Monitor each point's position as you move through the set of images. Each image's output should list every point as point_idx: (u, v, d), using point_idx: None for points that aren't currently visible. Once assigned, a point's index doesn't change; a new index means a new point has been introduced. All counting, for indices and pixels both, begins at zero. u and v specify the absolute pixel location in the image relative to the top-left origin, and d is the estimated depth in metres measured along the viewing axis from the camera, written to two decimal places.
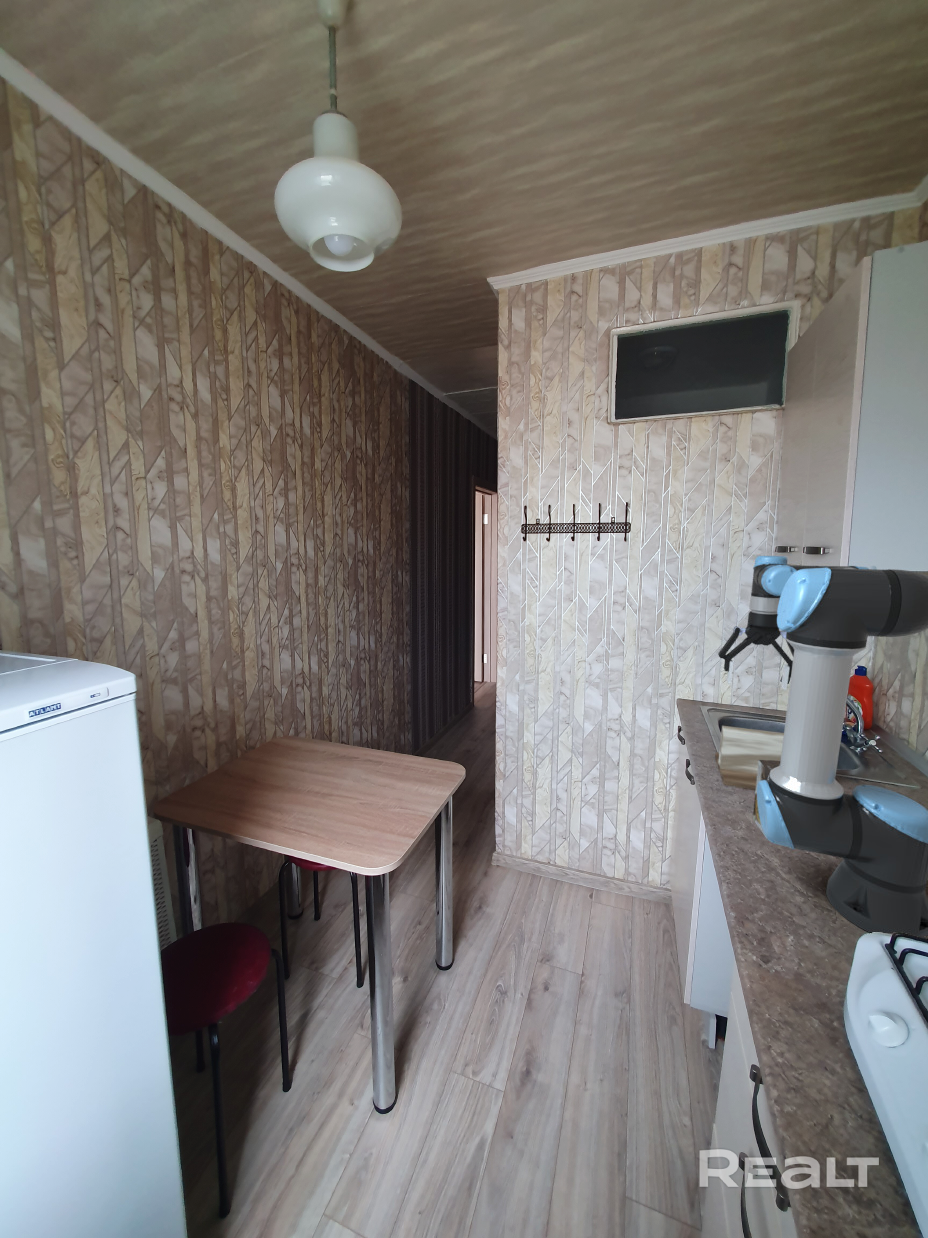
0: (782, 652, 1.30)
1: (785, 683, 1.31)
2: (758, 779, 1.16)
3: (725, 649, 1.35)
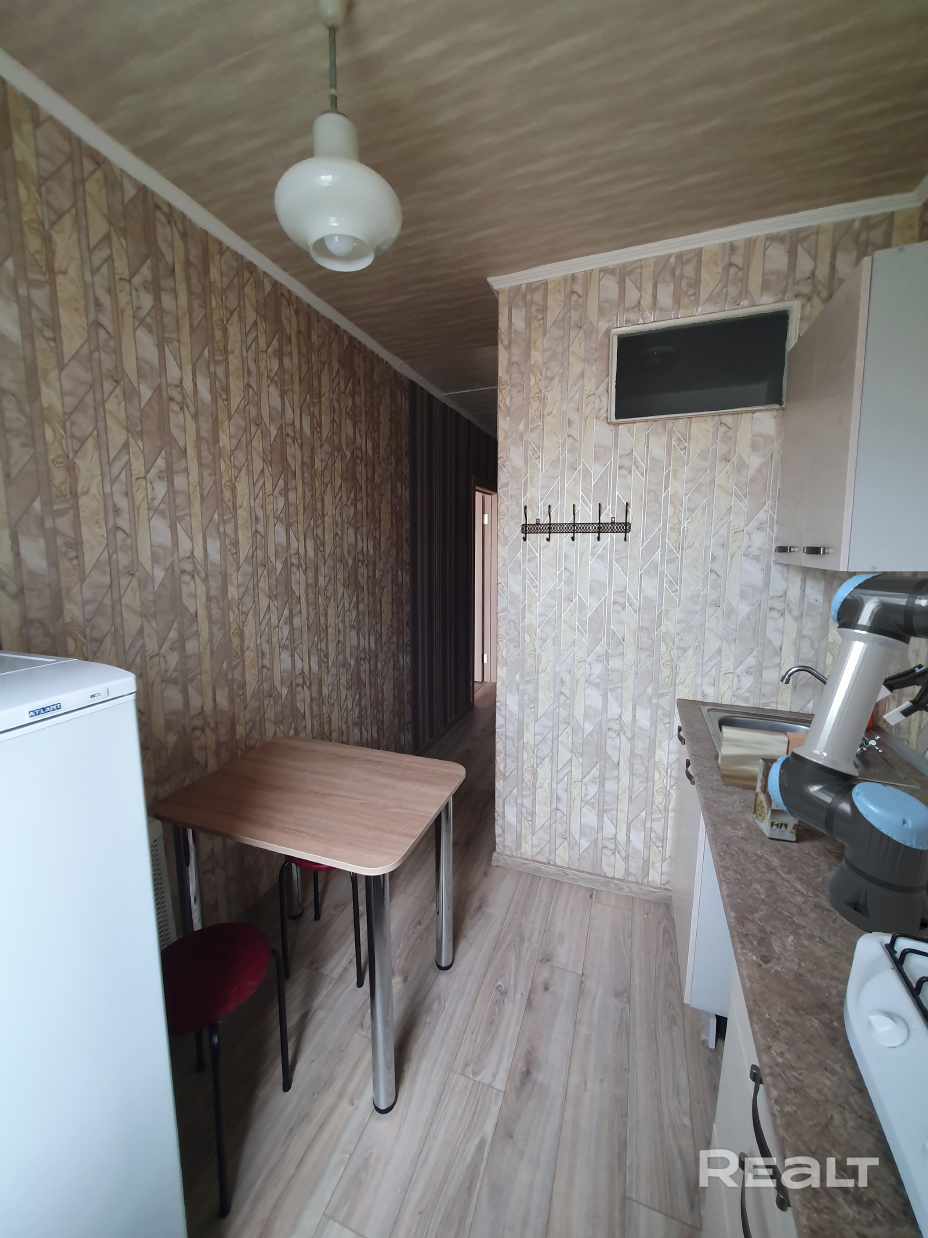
0: (921, 690, 1.18)
1: (890, 712, 1.20)
2: (759, 777, 1.16)
3: (892, 676, 1.31)
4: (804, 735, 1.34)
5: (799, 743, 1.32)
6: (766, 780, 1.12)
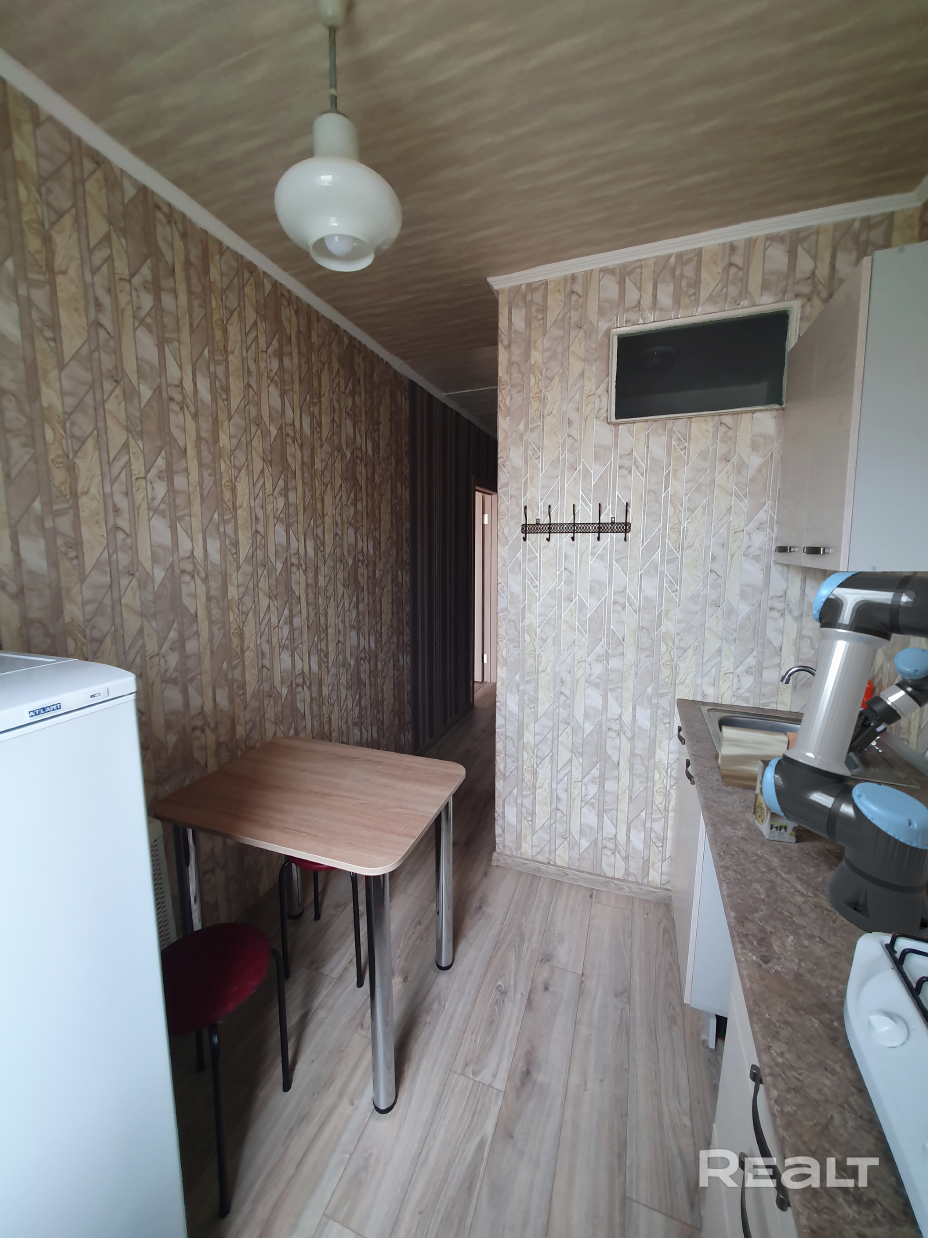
0: (855, 732, 1.25)
1: None
2: (759, 779, 1.16)
3: None
4: None
5: None
6: None
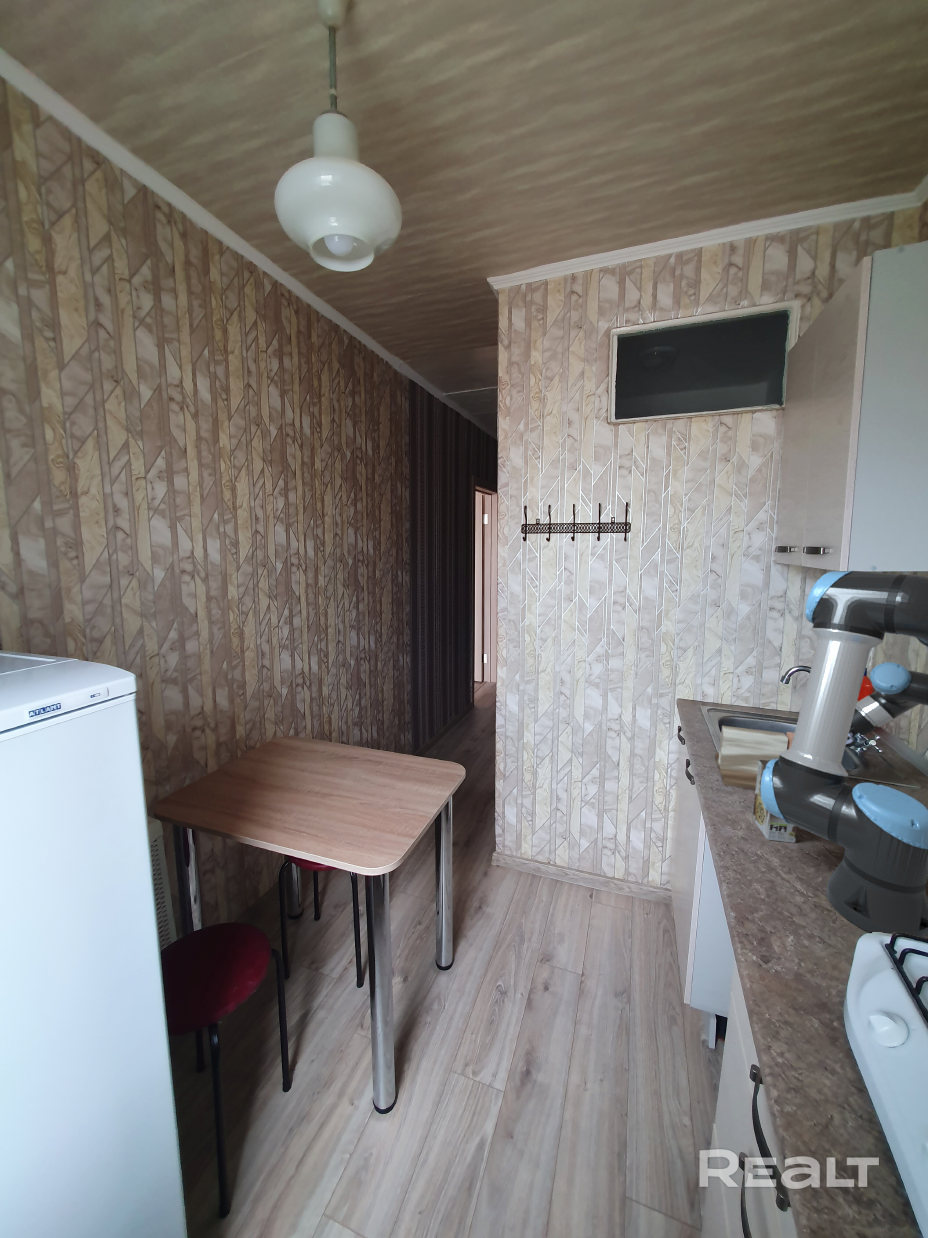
0: None
1: None
2: (758, 779, 1.16)
3: None
4: None
5: None
6: None
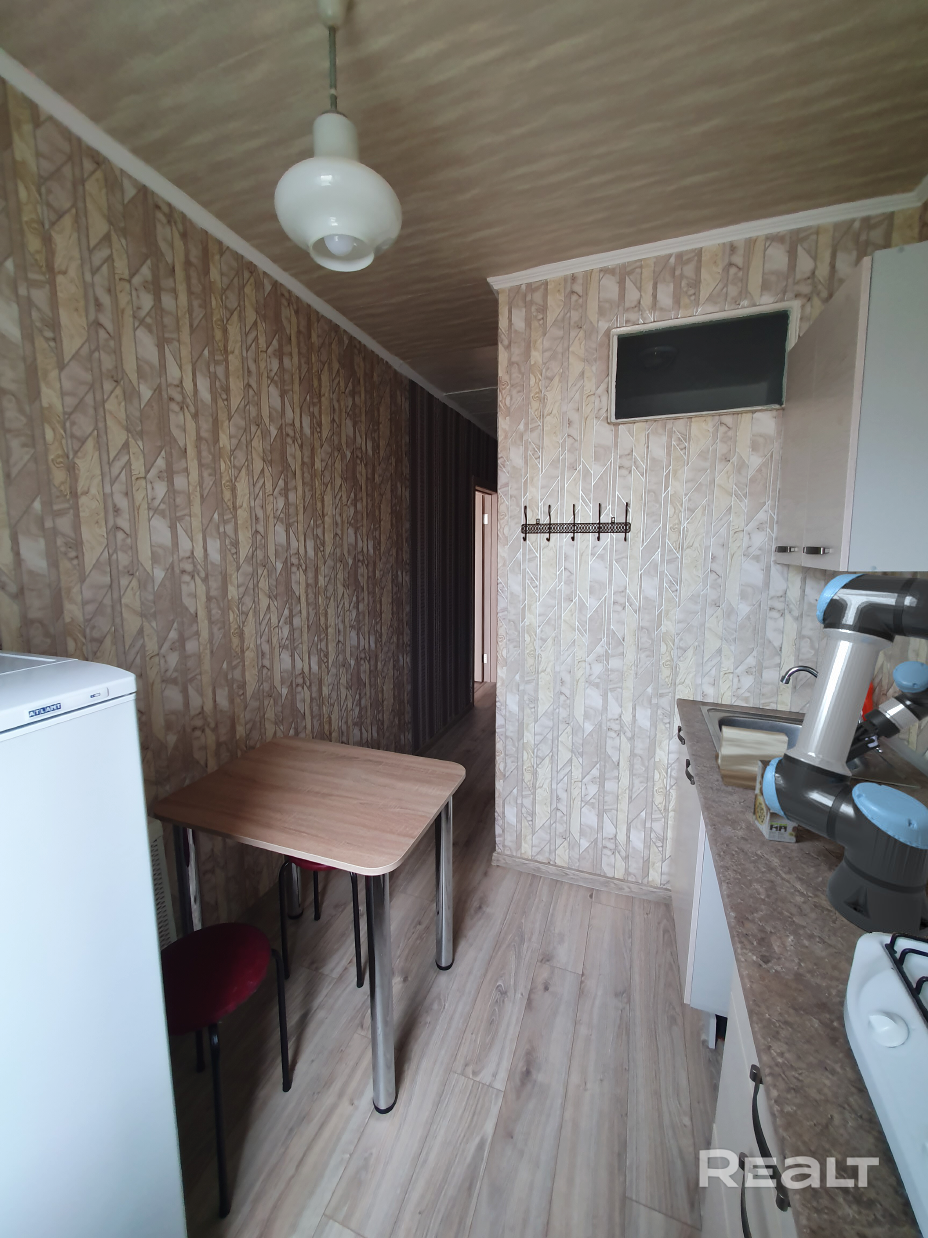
0: None
1: None
2: (758, 779, 1.16)
3: None
4: None
5: None
6: None
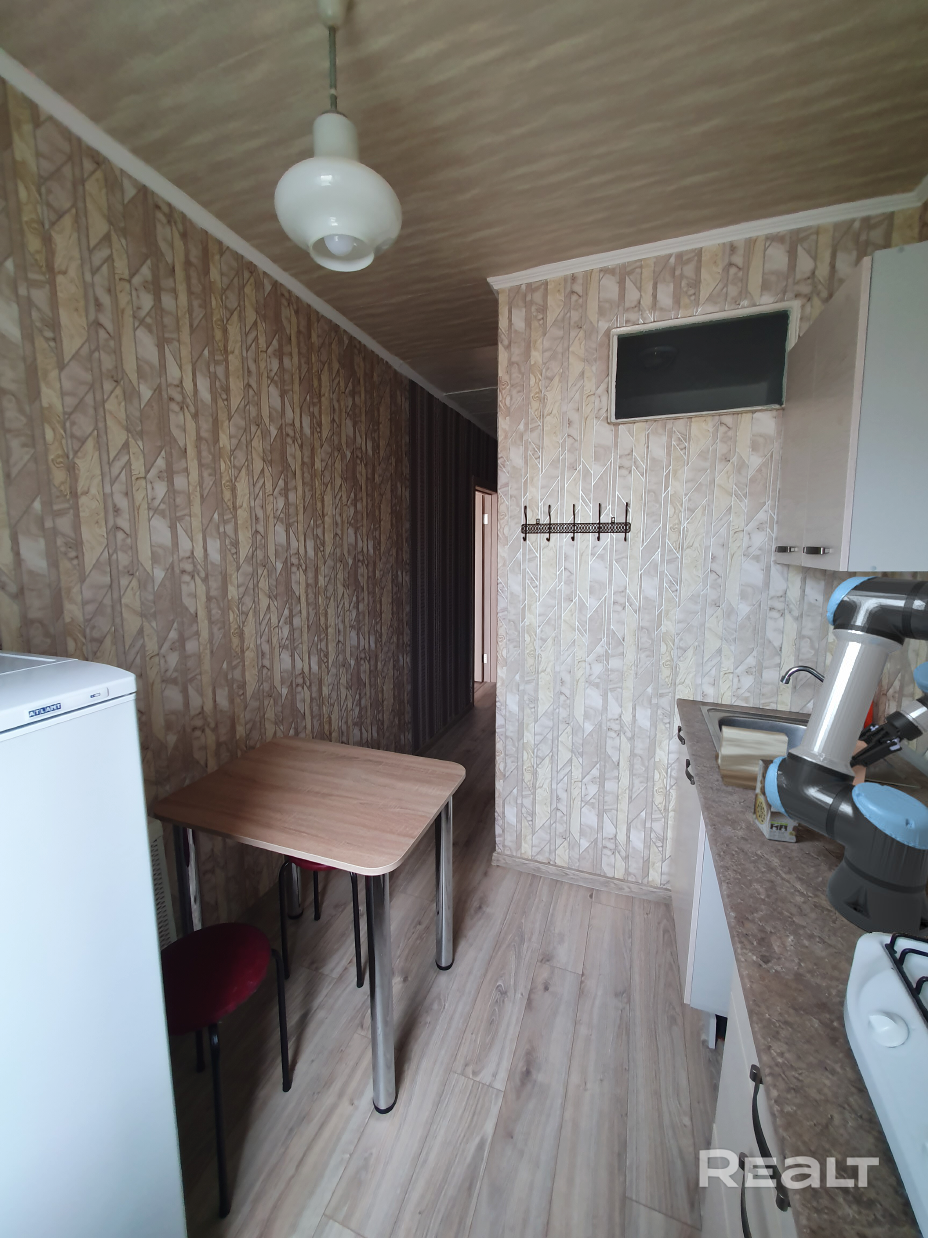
0: (867, 747, 1.26)
1: None
2: (759, 778, 1.16)
3: None
4: None
5: None
6: None
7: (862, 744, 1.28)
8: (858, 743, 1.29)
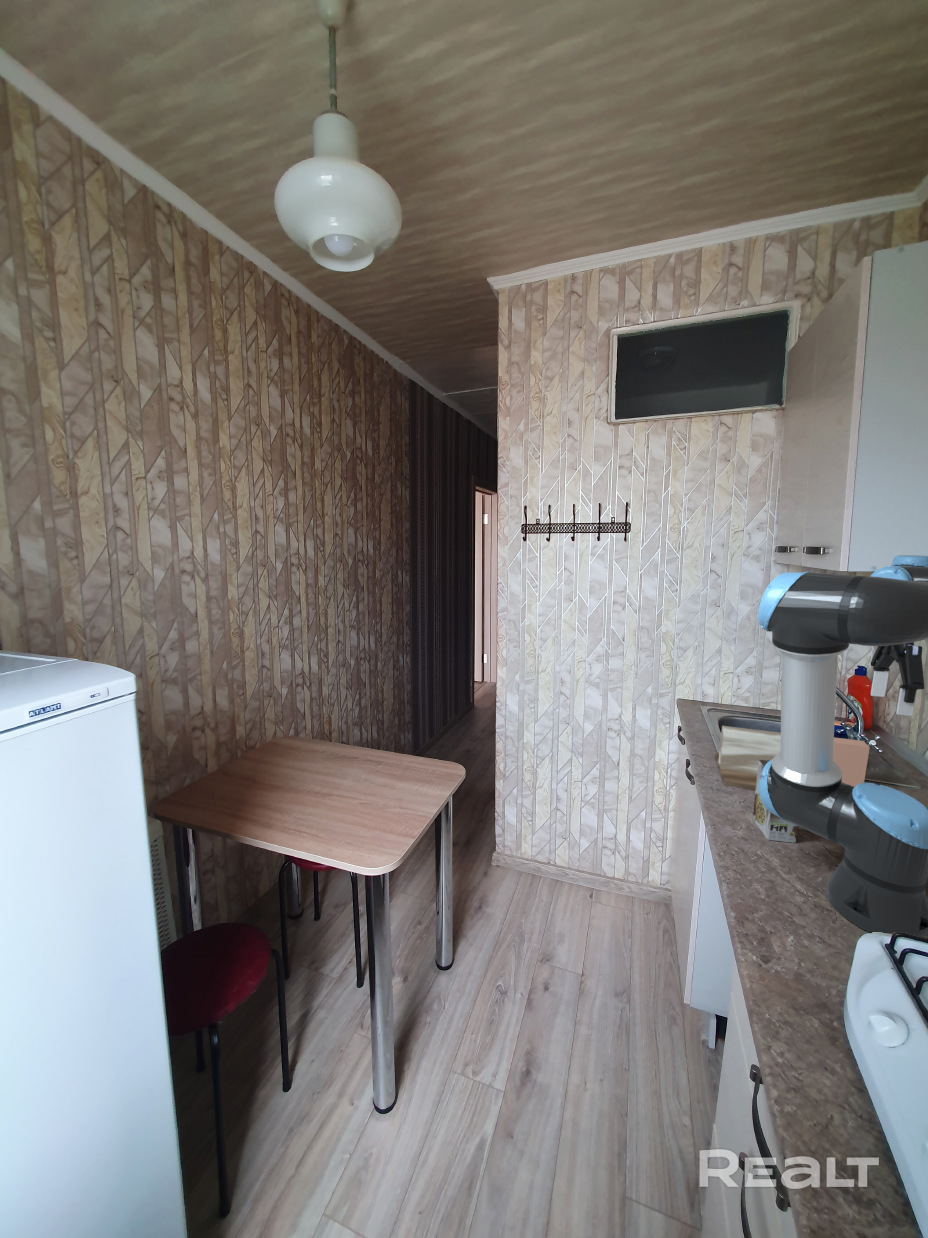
0: (901, 669, 1.10)
1: (897, 706, 1.11)
2: (758, 779, 1.16)
3: (874, 656, 1.23)
4: (847, 741, 1.30)
5: (842, 749, 1.29)
6: None
7: (862, 744, 1.28)
8: (858, 743, 1.29)
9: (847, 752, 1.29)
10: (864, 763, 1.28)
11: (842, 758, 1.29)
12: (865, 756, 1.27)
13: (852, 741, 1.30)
